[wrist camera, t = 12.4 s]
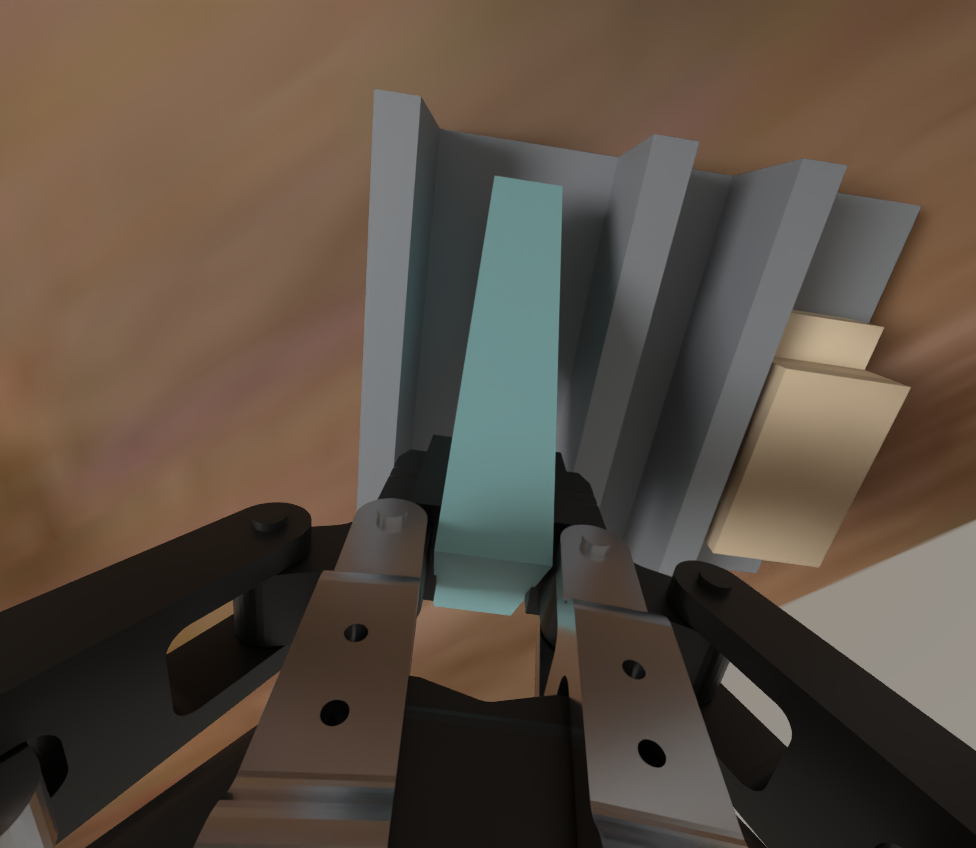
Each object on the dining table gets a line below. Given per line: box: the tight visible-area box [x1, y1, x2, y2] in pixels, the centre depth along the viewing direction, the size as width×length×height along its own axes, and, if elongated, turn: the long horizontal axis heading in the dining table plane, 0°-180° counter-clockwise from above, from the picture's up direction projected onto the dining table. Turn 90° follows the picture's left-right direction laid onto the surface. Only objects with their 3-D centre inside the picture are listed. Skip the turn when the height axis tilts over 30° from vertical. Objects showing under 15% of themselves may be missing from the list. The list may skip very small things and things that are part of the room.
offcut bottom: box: [775, 310, 884, 370], centre depth 18 cm, size 8×4×2 cm, turn 172°
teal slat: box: [434, 176, 563, 615], centre depth 13 cm, size 5×2×11 cm
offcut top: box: [704, 356, 911, 567], centre depth 17 cm, size 7×4×2 cm, turn 172°
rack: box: [357, 89, 921, 577], centre depth 18 cm, size 16×18×6 cm
